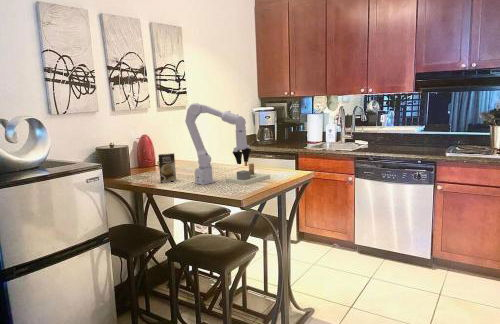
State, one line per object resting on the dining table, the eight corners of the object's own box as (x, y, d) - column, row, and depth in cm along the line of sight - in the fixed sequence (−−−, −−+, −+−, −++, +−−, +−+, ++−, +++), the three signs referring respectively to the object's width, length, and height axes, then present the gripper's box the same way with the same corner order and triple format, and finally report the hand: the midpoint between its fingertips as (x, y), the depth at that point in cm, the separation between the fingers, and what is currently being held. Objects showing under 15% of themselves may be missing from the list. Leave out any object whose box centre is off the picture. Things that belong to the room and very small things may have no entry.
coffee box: (160, 183, 216) (157, 155, 213) (160, 181, 222) (158, 154, 220) (176, 181, 218) (174, 154, 215) (176, 179, 224) (174, 152, 221)
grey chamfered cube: (243, 180, 200) (243, 172, 200) (237, 179, 204) (236, 171, 204) (250, 178, 204) (250, 171, 203) (244, 177, 208) (243, 170, 207)
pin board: (244, 185, 198) (243, 175, 198) (225, 181, 209) (225, 173, 208) (270, 178, 212) (269, 169, 211) (251, 175, 223) (250, 167, 222)
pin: (251, 174, 215) (251, 164, 214) (248, 174, 217) (247, 164, 216) (255, 174, 217) (254, 163, 216) (251, 173, 219) (251, 163, 218)
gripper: (240, 140, 198) (242, 165, 201) (253, 137, 211) (255, 161, 213) (229, 140, 202) (231, 164, 204) (243, 137, 214) (244, 160, 216)
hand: (242, 162), depth 209 cm, fingers open, 7 cm apart
